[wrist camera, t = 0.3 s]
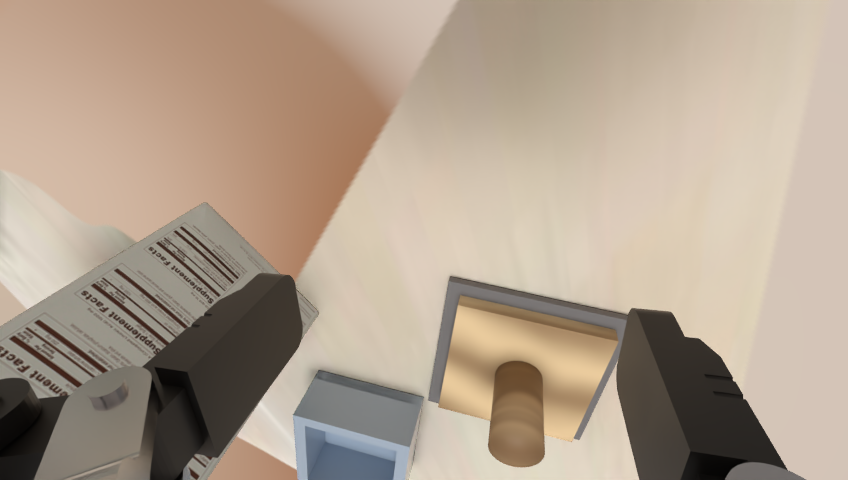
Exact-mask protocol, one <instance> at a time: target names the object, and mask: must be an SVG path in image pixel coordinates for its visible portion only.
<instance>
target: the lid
mask: <svg viewBox="0 0 848 480" xmlns="http://www.w3.org/2000/svg"><path fill="white" fill-rule="evenodd" d="M618 342H619V341H618V337H617V333H616V330H614V329H609V328H605V327H600V326H596V325H591V324H587V323H583V322H578V321H574V320H569V319H565V318H560V317H556V316H551V315H547V314H542V313H538V312H534V311H529V310H525V309H520V308H516V307H511V306H507V305H502V304H498V303H493V302H489V301H485V300H480V299H476V298H471V297H467V296H462V295H460V299H459V303H458V307H457V313H456V318H455V323H454V328H453V333H452V339H451V344H450V349H449V354H448V359H447V364H446V370H445V375H444V380H443V385H442V390H441V395H440V401H439V406H438V407H440V408H444V409H447V410H451V411H455V412H459V413H463V414H467V415H470V416H474V417H478V418H482V419H486V420H489V421H490V432H489V442H488V448H489V451H490V453H491V454H492V455H493V456H494V457H495V458H496V459H497V460H499V461H500V462H502V463H504V464H507V465H510V466H514V467H530V466H533V465H536V464H538V463H539V462H540V461H541V460H542V459H543V458H544V455H545V446H544V435H547V436H551V437H554V438H558V439H562V440H566V441H570V442H572V440H573V438H574V436H575V434H576V432H577V430H578V428H579V426H580V423H581V421H582V419H583V417H584V415H585V413H586V411H587V408H588V406H589V404H590V402H591V400H592V398H593V396H594V393H595V391H596V389H597V387H598V385H599V383H600V381H601V378H602V376H603V374H604V372H605V370H606V368H607V366H608V364H609V361H610V359H611V357H612V355H613V353H614V351H615V349H616V346H617V344H618Z"/></svg>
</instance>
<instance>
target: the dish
mask: <svg viewBox="0 0 848 480" xmlns="http://www.w3.org/2000/svg"><path fill="white" fill-rule="evenodd" d="M423 398H424V397H420V396H416V395H412V394H408V393H405V392H401V391H397V390H393V389H389V388H385V387H382V386H378V385H374V384H370V383H366V382H362V381H358V380H355V379H351V378H347V377H343V376H339V375H335V374H331V373H328V372H324V371H320V370H319V371H318V373H317V374H316V376H315V378H314V380H313V381H312V383H311V385H310V387H309V388H308V390H307V392H306V393H305V395H304V397H303V399H302V400H301V402H300V404H299V406H298V407H297V409H296V411H295V413H294V414H293V420H294V434H295V448H296V461H297V474H298V480H409V476H410V472H411V468H412V464H413V459H414V453H415V447H416V441H417V434H418V428H419V422H420V416H421V410H422V404H423Z"/></svg>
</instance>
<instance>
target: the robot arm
mask: <svg viewBox="0 0 848 480" xmlns="http://www.w3.org/2000/svg"><path fill="white" fill-rule="evenodd" d="M302 333H303V324H302V319H301V313H300V308H299V303H298V297H297V292H296V287H295V282H294V280H293V278H292V277H291V276H290V275H282V274H271V273H259V274H257V275H256V276H255V277H254V278H253V279H252V280H251V281H249V282H248V283H247V284H246V285H245V286H244V287H243V288H242V289H240V290H238V291H236V292H234V293H232V294H230V295H228V296H226V297H224V298H222V299H220V300H219V301H217V302H216V303H215V304H214V305H213V306H212V307H211V308H209V309H208V310H207V311H206V312H205V313H204V316H200V317H199V318H198V319H197V320H196V321H194V322H193V323H192V325H191V327H187V328H186V329H185V330H184V331H183V332H182V333H181V334H179V335H178V336H177V337H176V338H175V339H174V340H172V341H171V342H170V343H169V344H168V345H167V346H166V347H164V348H163V349H162V350H161V351H160V352H159V353H157V354H156V355H155V356H154V357H153V358H152V359H151V360H149V361H148V362H147V363H146V364H145V365H144V366H142V367H138V366H128V367H121V368H117V369H113V370H110V371H107V372H105V373H102V374H100V375H98V376H96V377H94V378H92V379H90V380H88V381H87V382H85V383H84V384H82V385H81V386H80V387H78V388H77V389H76V390H75V391H74V392H73V393H72V394H71V395H65V396H56V397H47V398H39V399H38V397H37V396H36V394H35V392H34V390H33V389H32V387H31V385H30V383H29V382H28V381H27V380H25V379H22V378H5V379H0V480H190V470H189V467H188V465H187V464H188V463H189V462H190V460H191V459H192V458H193V457H194V455H195V454H199V455H204V456H209V457H214V458H218V457H219V456H220V455H221V453H222V452H223V450H224V449H225V448H226V446H227V445H228V444H229V442H230V441H231V439H232V438H233V437H234V435H235V434H236V433H237V431H238V430H239V428H240V427H241V426H242V424H243V423H244V422H245V420H246V419H247V417H248V416H249V415H250V413H251V412H252V411H253V409H254V408H255V407H256V405H257V404H258V402H259V401H260V400H261V398H262V397H263V396H264V394H265V393H266V391H267V390H268V389H269V387H270V386H271V385H272V383H273V382H274V380H275V379H276V378H277V376H278V375H279V374H280V372H281V371H282V369H283V368H284V367H285V365H286V364H287V363H288V361H289V360H290V358H291V357H292V356H293V354H294V353H295V352H296V350H297V349H298V347H299V345H300V342H301V339H302ZM616 379H617V391H618V395H619V399H620V403H621V407H622V411H623V416H624V420H625V424H626V428H627V432H628V436H629V440H630V444H631V448H632V452H633V456H634V460H635V464H636V468H637V472H638V476H639V480H805V479H804V478H802V477H800V476H798V475H796V474H794V473H793V472H790V471H788V470H787V468H786V467H785V465H784V463H783V461H782V460H781V458H780V456H779V455H778V453H777V451H776V450H775V448H774V446H773V444H772V443H771V441H770V439H769V438H768V436H767V434H766V433H765V431H764V429H763V428H762V426H761V424H760V423H759V421H758V419H757V418H756V416H755V414H754V413H753V411H752V409H751V407H750V406H749V404H748V402H747V401H746V400H745V399H743V394H742V392H741V390H740V389H739V387H738V385H737V384H736V382H734V381H733V377H732V375H731V374H730V372H729V370H728V369H727V367H726V365H725V363H724V362H723V360H722V358H721V357H720V356H719V355H718V354H717V353H715V352H714V351H713V350H712V349H711V348H710V347H708V346H707V345H706V344H705V343H704V342H702V341H701V340H700V339H698V338H688V337H685V336H684V334H683V332H682V330H681V328H680V326H679V325H678V323H677V321H676V319H675V317H674V315H673V314H672V313H671V312H668V311H657V310H647V309H636V308H632V309H631V310H630V312H629V314H628V318H627V322H626V327H625V331H624V336H623V340H622V345H621V350H620V354H619V359H618V364H617V375H616Z"/></svg>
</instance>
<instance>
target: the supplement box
mask: <svg viewBox="0 0 848 480" xmlns="http://www.w3.org/2000/svg"><path fill="white" fill-rule="evenodd" d="M259 273H271V274H280V273H279V272H278V271H277V270H276V269H274V267H273V266H272V265H271V264H269V263H268V262H267V261H266V260H265V259H264V258H263V257H262V256H261V255H260V254H259V253H258V252H257V251H256V250H255V249H254V248H253V247H252V246H251V245H250V244H249V243H248V242H247V241H246V240H245V239H244V238H243V237H242V236H241V235H240V234H239V233H238V232H237V231H236V230H235V229H234V228H233V227H232V226H231V225H230V224H229V223H228V222H226V221H225V220H224V219H223V218H222V217H221V216H220V215H219V214H218V213H217V212H216V211H215V210H214V209H213V208H212V207H211V206H210V205H209V204H208V203H205V202H204V203H202V204H201V205H199V206H198V207H195V208H194V209H192V210H190V211H189V212H187V213H185V214H184V215H182V216H180V217H179V218H177V219H175V220H174V221H172V222H170V223H169V224H167V225H166V226H164V227H162V228H161V229H159V230H157V231H156V232H154V233H152V234H151V235H149V236H148V237H146V238H144V239H143V240H141V241H139V242H138V243H136V244H135V245H133V246H131V247H130V248H128V249H126V250H125V251H123V252H121V253H120V254H118V255H116V256H115V257H113V258H111V259H110V260H108V261H106V262H105V263H103V264H101V265H100V266H98V267H96V268H95V269H93V270H91V271H90V272H88V273H87V274H85V275H83V276H82V277H80V278H78V279H77V280H75V281H73V282H72V283H70V284H69V285H67V286H65V287H64V288H62V289H60V290H59V291H57V292H55V293H54V294H52V295H51V296H49V297H47V298H46V299H44V300H42V301H41V302H39V303H38V304H36V305H34V306H33V307H31V308H29V309H28V310H26V311H25V312H23V313H21V314H20V315H18V316H16V317H15V318H13V319H12V320H10V321H8V322H7V323H5V324H3V325H2V326H0V379H5V378H22V379H25V380H27V381H28V382H29V383H30V385H31V387H32V389H33V390H34V392H35V394H36V396H37V397H38V399H39V398H47V397H56V396H65V395H71V394H72V393H73V392H74V391H75V390H76V389H77V388H78V387H80V386H81V385H82V384H84V383H85V382H87V381H88V380H90V379H92V378H94V377H96V376H98V375H100V374H102V373H105V372H107V371H110V370H113V369H117V368H121V367H128V366H138V367H142V366H144V365H145V364H146V363H147V362H148V361H149V360H151V359H152V358H153V357H154V356H155V355H156V354H157V353H159V352H160V351H161V350H162V349H163V348H164V347H166V346H167V345H168V344H169V343H170V342H171V341H172V340H174V339H175V338H176V337H177V336H178V335H179V334H181V333H182V332H183V331H184V330H185V329H186V328H187V327H191V325H192V323H193V322H194V321H196V320H197V319H198V318H199V317H200V316H204V313H205V312H206V311H207V310H208V309H209V308H211V307H212V306H213V305H214V304H215V303H216V302H217V301H219V300H220V299H222V298H224V297H226V296H228V295H230V294H232V293H234V292H236V291H238V290H240V289H242V288H243V287H244V286H245V285H246V284H247V283H248V282H249V281H251V280H252V279H253V278H254V277H255V276H256V275H257V274H259ZM296 292H297V297H298V303H299V308H300V313H301V319H302V324H303V333H302V338H303V337H304V335H305V334H306V332H307V331H308V329H309V328H310V326H311V325H312V323H313V322H314V320H315V319H316V317H317V316H318V311H317V310H316V309H315V308H314V307H313V306H312V305H311V304H310V303H309V302H308V301H307V300H306V299H305V298H304V297H303V296H302V295H301V294H300V293H299V292H298V291H297V290H296ZM261 399H262V398H261ZM259 402H260V401H259ZM259 402H258V403H259ZM257 405H258V404H257ZM257 405H256V406H257ZM255 408H256V407H255ZM255 408H254V409H255ZM254 409H253V411H254ZM253 411H252V412H253ZM252 412H251V413H250V415H251V414H252ZM250 415H249V416H248V417H247V419H246V420H245V422H244V423H243V424H242V426H241V427H240V428H239V430H238V431H237V433H236V434H235V435H234V437H233V438H232V439H231V441H230V442H229V444H228V445H227V446H226V448H225V449H224V450H223V452H222V453H221V455H220V456H219V457H218V458H214V457H209V456H204V455H199V454H195V455H194V457H193V458H192V459H191V460H190V462H189V463H188V464H187V465H188V467H189V470H190V480H207V479H208V477H209V476H210V474H211V473H212V471H213V470H214V468H215V467H216V465H217V464H218V463H219V461H220V460H221V458H222V457H223V455H224V454H225V452H226V451H227V449H228V447H229V446H230V445H231V443H232V442H233V440H234V439H235V437H236V436H237V434H238V433H239V431H240V430H241V428H242V427H243V426H244V424H245V423H246V421H247V420H248V418H249V417H250Z"/></svg>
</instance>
